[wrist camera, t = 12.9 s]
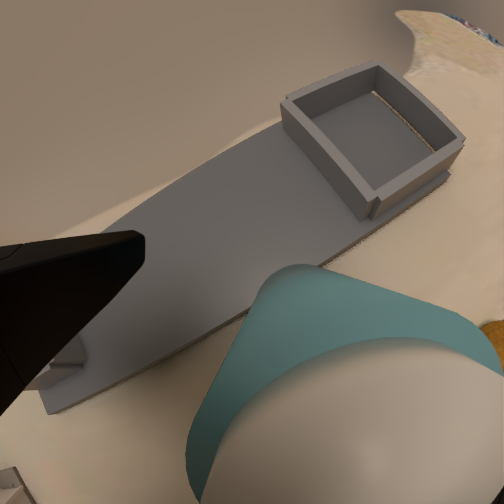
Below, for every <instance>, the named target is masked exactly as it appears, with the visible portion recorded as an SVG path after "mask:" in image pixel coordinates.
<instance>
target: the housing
mask: <svg viewBox="0 0 504 504" xmlns="http://www.w3.org/2000/svg"><path fill="white" fill-rule="evenodd" d="M371 91H375V92H376V93H377V94H379V95H380V96H381V97H382V98H383V99H384V100H385V101H386V102H387V103H389V104H390V105H391V106H392V107H393V108H394V109H395V110H396V111H397V112H398V113H399V114H400V115H401V116H402V117H403V118H404V119H405V120H406V121H407V122H408V123H409V124H410V125H411V126H412V127H413V128H414V129H415V130H416V131H417V132H418V133H419V134H420V135H421V136H422V137H423V138H424V139H425V140H426V141H427V142H428V143H429V144H430V146H431V147H432V148H433V149H434V150H435V151H436V152H435V153H432V152H431V151H430V150H429V149H428V147H427V146H426V145H425V144H424V143H423V142H422V141H421V140H420V139H419V138H418V137H417V136H416V135H415V134H414V132H413V131H412V130H411V129H410V128H409V127H408V126H407V125H406V124H405V123H404V122H403V121H402V120H401V119H400V118H399V117H398V116H397V115H395V114H394V113H393V112H392V111H391V110H390V109H389V108H388V107H387V106H386V105H385V104H384V103H383V102H382V101H380V100H379V99H378V98H377V97H376V96H375V95H374V94H373V93H371ZM280 108H281V115H282V121H280V122H278V123H276V124H274V125H272V126H270V127H268V128H266V129H264V130H262V131H260V132H259V133H257V134H255V135H253V136H251V137H249V138H248V139H246V140H244V141H242V142H240V143H238V144H237V145H235V146H233V147H231V148H230V149H228V150H226V151H224V152H223V153H221V154H219V155H217V156H216V157H214V158H212V159H211V160H209V161H207V162H206V163H204V164H202V165H201V166H199V167H197V168H196V169H194V170H192V171H191V172H189V173H188V174H186V175H184V176H183V177H181V178H180V179H178V180H176V181H175V182H173V183H172V184H170V185H169V186H167V187H166V188H164V189H162V190H161V191H159V192H158V193H156V194H155V195H153V196H152V197H150V198H149V199H147V200H146V201H144V202H143V203H142V204H140V205H139V206H137V207H136V208H134V209H133V210H131V211H130V212H129V213H127V214H126V215H124V216H123V217H122V218H120V219H119V220H117V221H116V222H115V223H113V224H112V225H110V226H109V227H108V228H106V229H105V230H104V231H102V232H101V233H108V232H117V231H126V230H135V231H137V232H139V233H141V234H143V235H144V236H145V239H146V247H145V262H144V264H143V266H142V267H141V268H140V269H139V270H138V271H137V273H136V274H135V275H134V276H133V277H132V278H131V279H130V280H129V282H128V283H127V284H126V285H125V286H124V287H123V288H122V290H121V291H120V292H119V293H118V294H117V295H116V296H115V298H114V299H113V300H112V301H111V302H110V303H109V304H108V305H107V306H106V307H105V308H104V309H103V310H101V311H100V312H99V313H98V314H97V315H96V316H95V317H94V318H93V319H92V320H91V321H90V322H89V323H88V324H87V325H86V326H85V327H84V328H83V329H82V330H81V331H80V332H79V333H78V334H77V335H76V336H75V337H74V338H73V339H72V340H71V341H70V342H69V343H68V344H67V345H66V346H65V347H64V348H63V349H62V350H61V351H60V352H59V353H58V354H57V355H56V356H55V357H54V358H53V359H52V360H51V361H50V362H49V363H48V364H47V365H46V366H45V368H44V369H43V370H42V371H41V372H40V373H39V374H38V375H37V376H36V377H35V378H34V379H33V380H32V381H31V382H30V383H29V385H28V386H27V387H26V388H25V389H24V390H23V391H27V390H38V391H39V394H40V396H41V399H42V402H43V404H44V407H45V409H46V412H47V414H48V415H52V414H57V413H60V412H62V411H64V410H66V409H68V408H70V407H72V406H74V405H77V404H79V403H81V402H83V401H85V400H87V399H89V398H91V397H93V396H95V395H97V394H99V393H101V392H103V391H105V390H107V389H109V388H111V387H113V386H115V385H117V384H119V383H121V382H123V381H125V380H127V379H129V378H131V377H133V376H134V375H136V374H138V373H140V372H142V371H144V370H146V369H148V368H150V367H152V366H153V365H155V364H157V363H159V362H161V361H163V360H165V359H166V358H168V357H170V356H172V355H174V354H176V353H177V352H179V351H181V350H183V349H185V348H186V347H188V346H190V345H192V344H194V343H195V342H197V341H199V340H201V339H203V338H204V337H206V336H208V335H210V334H211V333H213V332H215V331H217V330H218V329H220V328H222V327H224V326H225V325H227V324H229V323H230V322H232V321H234V320H236V319H237V318H239V317H241V316H242V315H244V314H246V313H247V312H249V310H250V308H251V306H252V304H253V302H254V299H255V297H256V295H257V293H258V291H259V289H260V288H261V286H262V285H263V283H264V282H265V281H266V280H267V279H268V278H269V277H270V276H271V275H272V274H273V273H275V272H276V271H278V270H280V269H282V268H284V267H287V266H290V265H295V264H310V265H315V266H318V267H322V266H324V265H325V264H327V263H328V262H330V261H331V260H333V259H334V258H336V257H338V256H339V255H341V254H342V253H344V252H345V251H347V250H348V249H350V248H351V247H353V246H354V245H356V244H357V243H359V242H360V241H362V240H363V239H365V238H366V237H368V236H369V235H371V234H372V233H374V232H375V231H377V230H378V229H380V228H381V227H383V226H384V225H385V224H387V223H388V222H390V221H391V220H393V219H394V218H396V217H397V216H398V215H400V214H401V213H403V212H404V211H406V210H407V209H408V208H410V207H411V206H413V205H414V204H416V203H417V202H418V201H420V200H421V199H423V198H424V197H425V196H427V195H428V194H429V193H431V192H432V191H434V190H435V189H436V188H438V187H439V186H440V185H442V184H443V183H445V182H446V180H447V179H448V178H449V176H450V175H451V174H450V173H449V172H448V170H447V169H448V168H450V166H451V165H452V163H453V162H454V160H455V159H456V158H457V156H458V155H459V153H460V152H461V150H462V149H463V147H464V146H465V145H464V144H463V142H464V141H465V139H466V137H465V136H464V135H463V134H462V133H461V132H460V131H459V130H458V129H457V128H456V126H455V125H454V124H453V123H452V122H451V121H450V120H449V119H448V118H447V117H446V116H445V115H444V114H443V113H442V112H441V111H440V110H439V109H438V108H437V107H436V106H435V105H434V104H432V103H431V102H430V101H429V100H428V99H427V98H426V97H425V96H424V95H423V94H422V93H420V92H419V91H418V90H417V89H416V88H415V87H414V86H412V85H411V84H410V83H409V82H408V81H407V80H405V79H404V78H403V77H402V76H401V75H399V74H398V73H397V72H396V71H394V70H393V69H392V68H390V67H389V66H388V65H387V64H385V63H384V62H383V61H379V62H376V63H375V62H374V61H373V60H371V61H369V62H366V63H363V64H360V65H357V66H355V67H352V68H349V69H347V70H344V71H342V72H339V73H337V74H334V75H332V76H329V77H327V78H324V79H322V80H320V81H317V82H315V83H312V84H310V85H308V86H306V87H303V88H301V89H299V90H297V91H294V92H292V93H290V94H288V95H286V100H284V101H282V102H280Z"/></svg>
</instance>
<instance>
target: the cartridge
mask: <svg viewBox="0 0 504 504" xmlns="http://www.w3.org/2000/svg"><path fill="white" fill-rule="evenodd" d="M185 455H186V471H187V475H188V479H189V483H190V486H191V488H192V490H193V492H194V495H195V497H196V499H197V500H198V501H199V503H200V504H491V503H492V501H493V500H494V499H495V497H496V496H497V495H498V493H499V492H500V491H501V489H502V488H503V486H504V374H503V370H502V366H501V362H500V359H499V357H498V355H497V353H496V350H495V348H494V346H493V345H492V343H491V342H490V341H489V339H488V338H487V337H486V335H485V334H484V333H483V332H482V331H481V330H480V329H479V328H478V327H477V326H476V325H474V324H473V323H472V322H471V321H469V320H467V319H466V318H464V317H462V316H461V315H459V314H457V313H455V312H453V311H450V310H447V309H444V308H442V307H439V306H436V305H433V304H430V303H427V302H424V301H421V300H418V299H415V298H412V297H409V296H406V295H403V294H400V293H397V292H394V291H391V290H388V289H385V288H382V287H379V286H376V285H373V284H370V283H367V282H364V281H361V280H358V279H355V278H352V277H349V276H345V275H342V274H339V273H336V272H333V271H330V270H327V269H324V268H321V267H318V266H315V265H310V264H295V265H290V266H287V267H284V268H282V269H280V270H278V271H276V272H275V273H273V274H272V275H271V276H270V277H269V278H268V279H267V280H266V281H265V282H264V283H263V285H262V286H261V288H260V289H259V291H258V293H257V295H256V297H255V299H254V302H253V304H252V306H251V308H250V310H249V312H248V314H247V316H246V318H245V320H244V322H243V324H242V326H241V328H240V330H239V332H238V334H237V336H236V338H235V340H234V342H233V344H232V346H231V348H230V350H229V352H228V354H227V356H226V358H225V360H224V362H223V364H222V366H221V368H220V370H219V372H218V374H217V375H216V377H215V379H214V381H213V383H212V385H211V387H210V389H209V391H208V393H207V395H206V397H205V399H204V401H203V403H202V405H201V407H200V408H199V410H198V412H197V414H196V416H195V418H194V420H193V423H192V426H191V429H190V432H189V435H188V440H187V446H186V453H185Z"/></svg>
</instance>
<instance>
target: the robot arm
mask: <svg viewBox="0 0 504 504" xmlns="http://www.w3.org/2000/svg"><path fill="white" fill-rule="evenodd" d="M145 247H146V239H145V236H144V235H143V234H141V233H139V232H137V231H135V230H126V231H117V232H108V233H100V234H91V235H83V236H75V237H67V238H59V239H52V240H44V241H37V242H30V243H25V244H16V245H8V246H1V247H0V416H1V415H2V414H3V413H4V412H5V410H6V409H7V408H8V407H9V406H10V405H11V404H12V402H13V401H14V400H15V399H16V398H17V397H18V396H19V395H20V394H21V392H22V391H23V390H24V389H25V388H26V387H27V386H28V385H29V383H30V382H31V381H32V380H33V379H34V378H35V377H36V376H37V375H38V374H39V373H40V372H41V371H42V370H43V369H44V368H45V366H46V365H47V364H48V363H49V362H50V361H51V360H52V359H53V358H54V357H55V356H56V355H57V354H58V353H59V352H60V351H61V350H62V349H63V348H64V347H65V346H66V345H67V344H68V343H69V342H70V341H71V340H72V339H73V338H74V337H75V336H76V335H77V334H78V333H79V332H80V331H81V330H82V329H83V328H84V327H85V326H86V325H87V324H88V323H89V322H90V321H91V320H92V319H93V318H94V317H95V316H96V315H97V314H98V313H99V312H100V311H101V310H103V309H104V308H105V307H106V306H107V305H108V304H109V303H110V302H111V301H112V300H113V299H114V298H115V296H116V295H117V294H118V293H119V292H120V291H121V290H122V288H123V287H124V286H125V285H126V284H127V283H128V282H129V280H130V279H131V278H132V277H133V276H134V275H135V274H136V273H137V271H138V270H139V269H140V268H141V267H142V266H143V264H144V262H145ZM491 504H504V486H503V488H502V489H501V491H500V492H499V493H498V495H497V496H496V497H495V499H494V500H493V501H492V503H491Z"/></svg>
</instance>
